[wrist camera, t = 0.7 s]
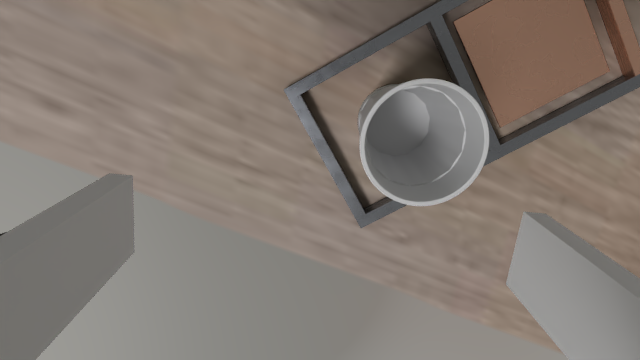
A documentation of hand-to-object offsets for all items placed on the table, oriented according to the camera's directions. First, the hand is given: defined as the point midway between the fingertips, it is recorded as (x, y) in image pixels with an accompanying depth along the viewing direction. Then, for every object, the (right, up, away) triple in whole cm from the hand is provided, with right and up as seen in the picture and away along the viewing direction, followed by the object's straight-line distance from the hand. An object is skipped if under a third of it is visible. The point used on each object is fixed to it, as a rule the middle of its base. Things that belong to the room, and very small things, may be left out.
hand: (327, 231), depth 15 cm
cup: (+6, +7, +24) cm, 26 cm away
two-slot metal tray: (+12, +10, +23) cm, 28 cm away
